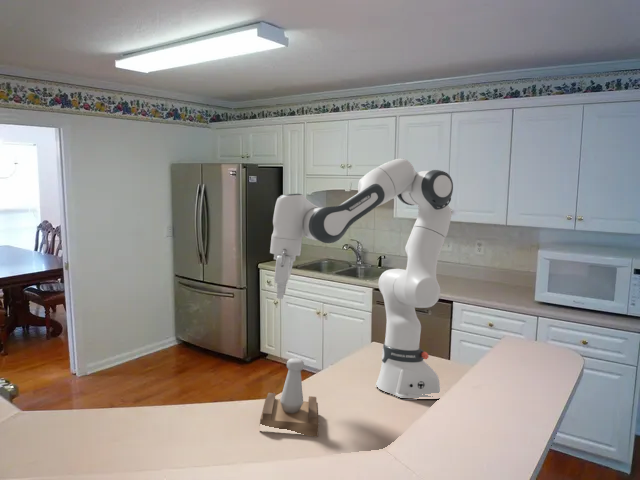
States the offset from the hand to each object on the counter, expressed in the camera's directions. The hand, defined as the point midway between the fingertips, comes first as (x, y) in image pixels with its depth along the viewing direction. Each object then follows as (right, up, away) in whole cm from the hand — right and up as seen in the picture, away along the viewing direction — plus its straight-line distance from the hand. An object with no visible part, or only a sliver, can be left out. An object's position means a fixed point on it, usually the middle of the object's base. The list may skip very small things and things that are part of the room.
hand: (281, 295), depth 135 cm
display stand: (+4, -30, -17) cm, 35 cm away
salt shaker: (+4, -27, -17) cm, 32 cm away
